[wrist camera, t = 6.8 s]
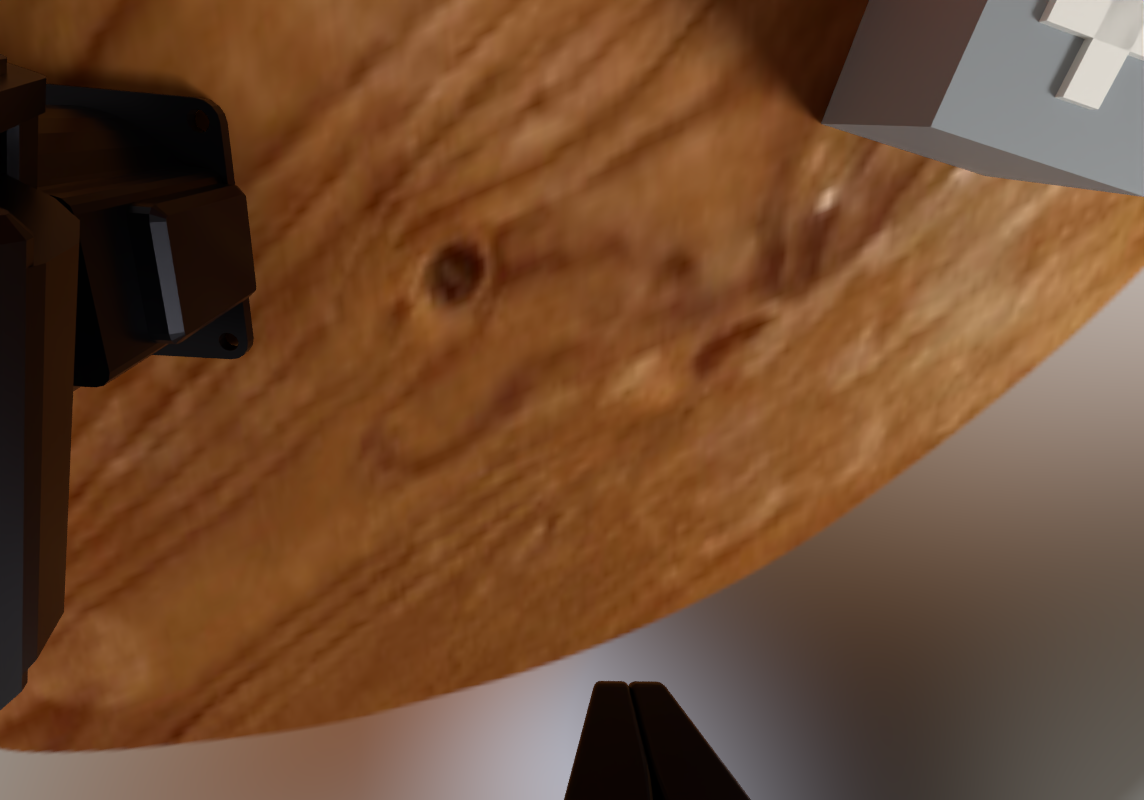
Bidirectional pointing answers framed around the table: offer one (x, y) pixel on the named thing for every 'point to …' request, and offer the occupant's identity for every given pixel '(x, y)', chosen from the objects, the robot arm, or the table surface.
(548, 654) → the table surface
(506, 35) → the table surface
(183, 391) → the table surface
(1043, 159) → the slate block
